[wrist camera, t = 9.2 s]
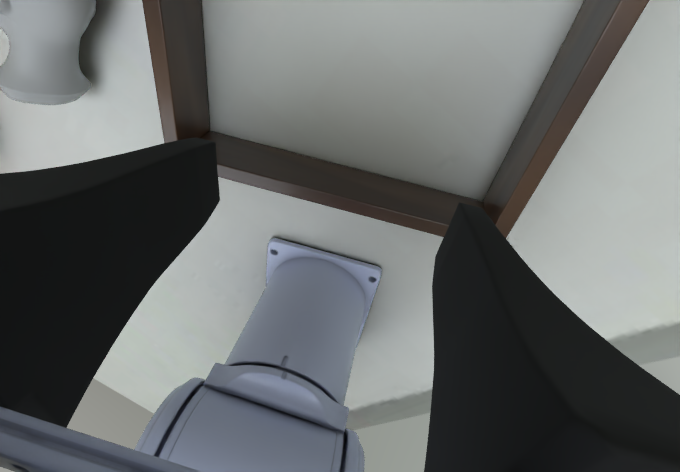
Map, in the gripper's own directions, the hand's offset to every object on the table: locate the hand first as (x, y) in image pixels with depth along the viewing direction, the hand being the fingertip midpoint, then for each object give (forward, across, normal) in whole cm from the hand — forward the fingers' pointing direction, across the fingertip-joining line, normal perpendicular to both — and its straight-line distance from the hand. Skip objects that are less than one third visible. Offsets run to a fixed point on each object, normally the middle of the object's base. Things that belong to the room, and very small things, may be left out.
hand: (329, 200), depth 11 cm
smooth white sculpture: (+10, +17, -1) cm, 19 cm away
